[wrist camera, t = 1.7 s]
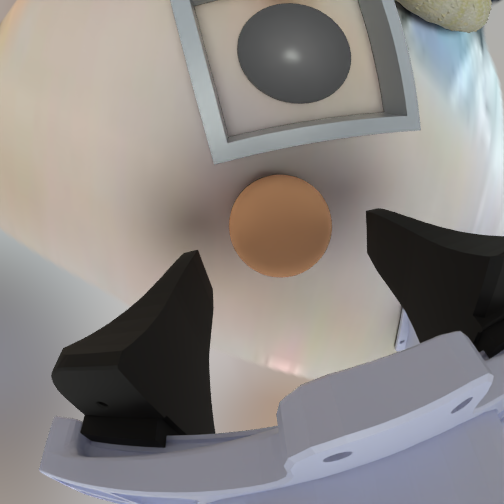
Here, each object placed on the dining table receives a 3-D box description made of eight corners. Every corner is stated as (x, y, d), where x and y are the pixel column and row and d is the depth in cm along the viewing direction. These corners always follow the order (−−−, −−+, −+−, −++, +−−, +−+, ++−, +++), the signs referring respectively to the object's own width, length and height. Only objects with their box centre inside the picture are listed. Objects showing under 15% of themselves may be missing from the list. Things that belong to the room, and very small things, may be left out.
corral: (396, 124, 13) (420, 130, 11) (217, 155, 14) (214, 164, 12) (362, -19, 9) (381, -33, 7) (175, -1, 9) (165, -17, 7)
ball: (320, 236, 17) (348, 284, 13) (241, 254, 17) (244, 308, 13) (309, 157, 14) (341, 180, 10) (219, 176, 15) (213, 209, 10)
